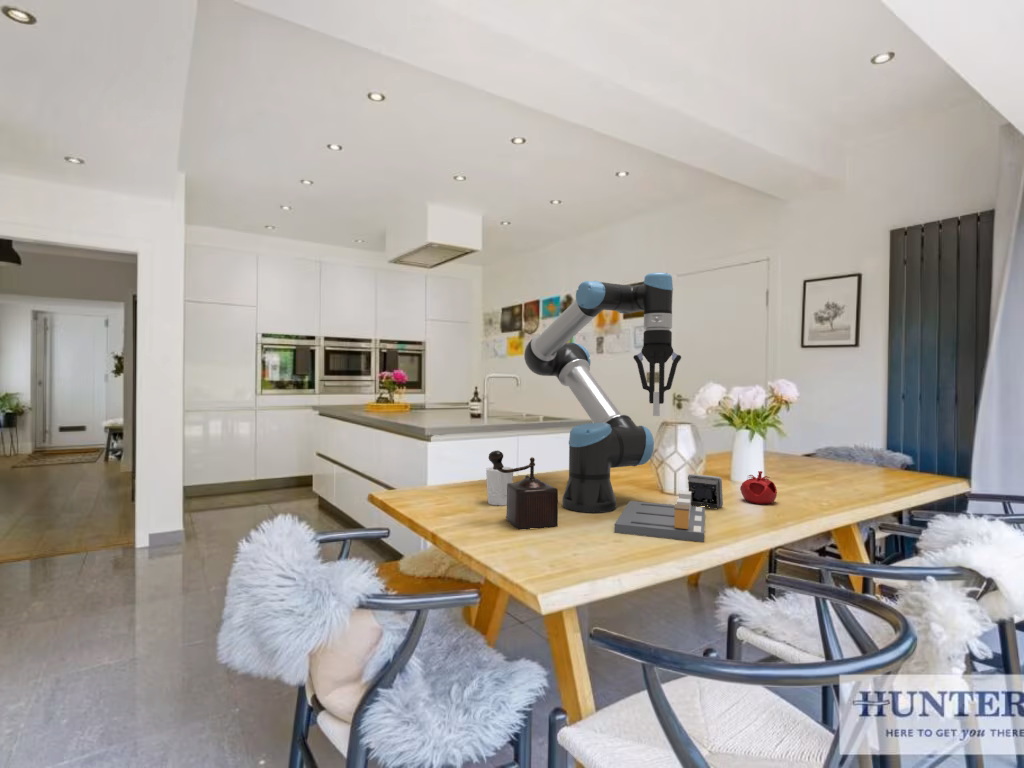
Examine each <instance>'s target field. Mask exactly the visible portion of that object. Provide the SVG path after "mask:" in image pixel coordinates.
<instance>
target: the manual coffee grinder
mask: <svg viewBox="0 0 1024 768" xmlns="http://www.w3.org/2000/svg"><path fill="white" fill-rule="evenodd" d="M503 459H504V453H503V452H501V451H500V450H497V449H496V450H493V451H491V452H490V453H489V454H488V461H490V463H491V464H492V465H493V466H492V467H493V469H494V470H498V471H500V472H503V473H511V472H513V473H517V472H521V471H525V470H527V469H530V471H529V475H527V474H526V475H525V478H522V480H519V481H516V482H513V483H507V505H506V515H505V519H506V521H507V522H508V523H509V522H510V523H511V526H513V527H514V528H515V529H517V528H518V529H517V530H519V529H526V530H531V529H530V528H538V529H545V528H544V527H548V528H554V527H555V526H557V527H558V525H559V524H558V522H559V521H558V519H559V515H558V514H559V513H558V511H559V500H558V499H559V490H558V488H556V487H555V486H553V485H551V484H550V483H547V482H545V481H542V480H541V479H539V478H537V477H535V476H534V475H535V474H534V471H535V466H536V463H535V461H536V459H535V457H533V456H532V457H530V458H529V464H526V465H525V466H520V467H515V468H513V469H508V470H504V469H502V468H503V467H505V466H504V464H503ZM510 523H509V524H510ZM555 528H556V527H555Z"/></svg>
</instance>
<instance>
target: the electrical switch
mask: <svg viewBox="0 0 1024 768" xmlns="http://www.w3.org/2000/svg"><path fill="white" fill-rule="evenodd" d="M687 480H688V482H687V483H688V491H690V492H691V505H694V507H697V506H705V507H710V508H709V509H711V508H717V509H716V510H718V508H722V507H723V506H724V501H723V500H724V499H723V496H724V494H723V481H722V480H723V479H722V477H721V476H714V475H706V474H695V473H689V474H688V475H687ZM701 504H702V505H701ZM707 505H708V506H707Z"/></svg>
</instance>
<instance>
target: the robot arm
mask: <svg viewBox="0 0 1024 768" xmlns="http://www.w3.org/2000/svg"><path fill="white" fill-rule="evenodd" d="M673 286H674V285H673V277H672V275H671V273H668V272H650V273H648V274H646V275H645V276H644V280H643V283H642V284H638V285H629V284H627V285H626V284H620V283H619V284H618V283H611V282H604V281H603V282H602V281H597V280H584V281H582V282H580V284H578V287H577V288H578V289H577V290H576V291H575V300H574V301H573V302H572V303H571V304H570V305H569V306H567V308H566V309H565V310H564V311H562V312H561V314H560V315H559V316H558V317H557V318H556V319H555V320H554V321H552V323H551V324H549V326H548V327H546V329H544V331H543V332H542V333H541V334H537V335H535V336H534V337H532V338H531V339H530V341H529V342H528V343H527V344H526V346H525V349H524V352H523V353H524V355H523V357H524V358H523V359H524V361H525V365H526V366H527V368H528V369H529V370H530V371H531V372H532V373H534V374H536V375H537V376H542V377H543V376H544V377H556V379H557V380H558V381H559V382H560V384H561V385H563V386H564V387H568V388H569V390H570V391H571V392H572V394H573V395H574V397H575V398H576V400H577V401H578V402H579V404H580V405H581V407H582V408H583V410H584V411H585V413H586V414H587V416H588V417H589V418H590V421H592V423H582V424H578V425H575V426H573V427H572V428H571V429H570V430H569V438H568V448H569V449H568V480H567V482H566V486H565V488H564V492H563V496H562V500H561V501H562V507H563V508H565V509H566V510H569V511H575V512H581V513H607V512H612V511H614V510H616V508H617V498H616V495H615V492H614V489H613V485H612V482H611V468H613V469H614V468H624V467H637V466H640V465H641V466H643V465H645V464H647V463H648V462H649V461H650V459H651V458H652V456H653V454H654V449H655V448H654V445H655V441H654V437H653V433H652V431H651V430H650V429H649V428H648V427H646V426H644V425H636V423H635V422H634V420H632V418H631V417H630V416H629V415H628V414H622V413H621V412H620V410H619V409H618V408H617V407H616V406H617V405H615V403H613V401H612V400H611V399H610V397H609V396H608V394H607V393H606V392H605V390H604V389H603V387H602V386H601V385H600V384H599V383H598V381H597V379H596V378H595V377H594V376H593V374H592V373H591V372H590V370H591V359H590V352H589V350H587V348H586V347H585V346H584V345H582V344H580V343H576V342H569V341H570V340H572V339H573V338H574V337H575V336H577V334H578V333H579V332H580V331H581V330H582V329H584V328H585V327H586V326H587V325H588V324H589V323H591V322H592V320H594V319H595V317H597V316H598V315H599V314H601V313H602V311H614V312H617V313H619V314H632V313H637V312H643V329H644V331H643V342H642V349H641V351H640V352H639V353H638V354H635V355H633V359H634V361H635V363H636V366H637V369H638V374H639V378H640V382H641V386H642V389H643V390H645V391H647V392H648V394H649V395H648V397H649V398H648V399H649V400H648V401H649V404H653V405H652V409H653V410H652V416H653V417H659V416H660V412H661V411H660V410H661V409H660V407H661V405H662V404H664V403H665V392H666V391H669V390H671V389H672V385H673V381H674V378H675V374H676V372H677V367H678V364H679V362H680V361H681V360H682V356H681V355H680V354H677V353H676V352H674V348H673V346H672V345H673V344H672V341H673V339H672V337H673V335H672V334H673V332H672V330H671V329H672V328H673V293H674V287H673ZM644 358H645V360H646V361H647V362H648V363H649V378H648V379H649V382H648V380H647V377H646V372H645V367H644V364H643V360H644ZM670 358H671V360H672V363H671V366H670V371H669V374H668V377H667V381H666V385H665V367H666V366H665V364H666V363H667V361H669V359H670ZM657 364H658V367H659V368H658V369H659V370H658V374H659V375H658V391H655V384H656V383H655V382H656V381H655V380H656V379H655V378H656V365H657ZM648 384H649V385H648Z"/></svg>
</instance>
